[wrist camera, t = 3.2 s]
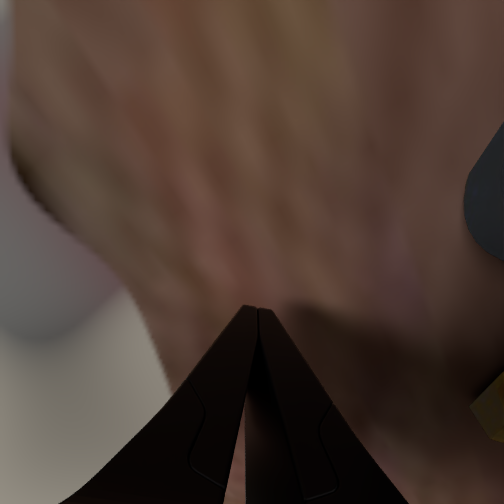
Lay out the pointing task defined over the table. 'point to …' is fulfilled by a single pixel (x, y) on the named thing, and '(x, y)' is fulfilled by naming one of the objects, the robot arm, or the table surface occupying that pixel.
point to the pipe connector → (497, 244)
